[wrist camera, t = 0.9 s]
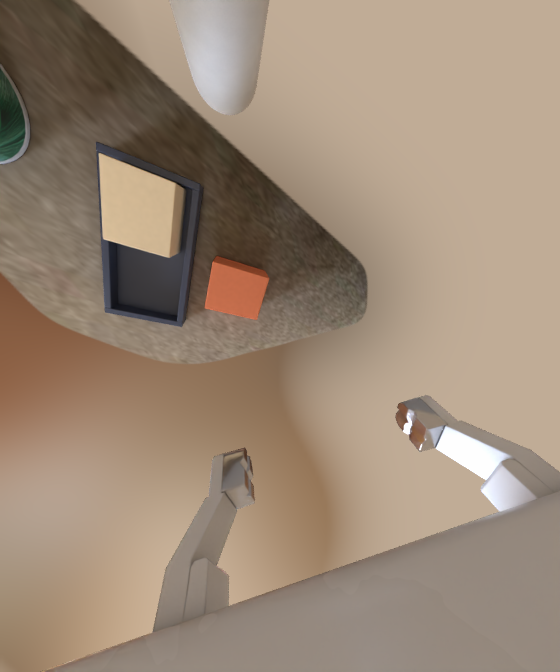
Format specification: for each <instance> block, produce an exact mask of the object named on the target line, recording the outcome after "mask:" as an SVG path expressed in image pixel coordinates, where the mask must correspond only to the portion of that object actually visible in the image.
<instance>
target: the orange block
mask: <svg viewBox="0 0 560 672" xmlns="http://www.w3.org/2000/svg"><path fill="white" fill-rule="evenodd" d="M268 281H269V277H268V275H267V274H266V272H265V271H264V270H261V269H258V268H254V267H251V266H248V265H245V264H242V263H238V262H235V261H232V260H229V259H225V258H222V257H219V256H216V257H215V259H214V260H213V263H212V268H211V274H210V280H209V286H208V291H207V297H206V303H205V308H206V309H211V310H215V311H219V312H224V313H228V314H233V315H237V316H242V317H246V318H251V319H255V320H257V318H258V314H259V311H260V308H261V304H262V301H263V298H264V294H265V291H266V288H267V284H268Z"/></svg>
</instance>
